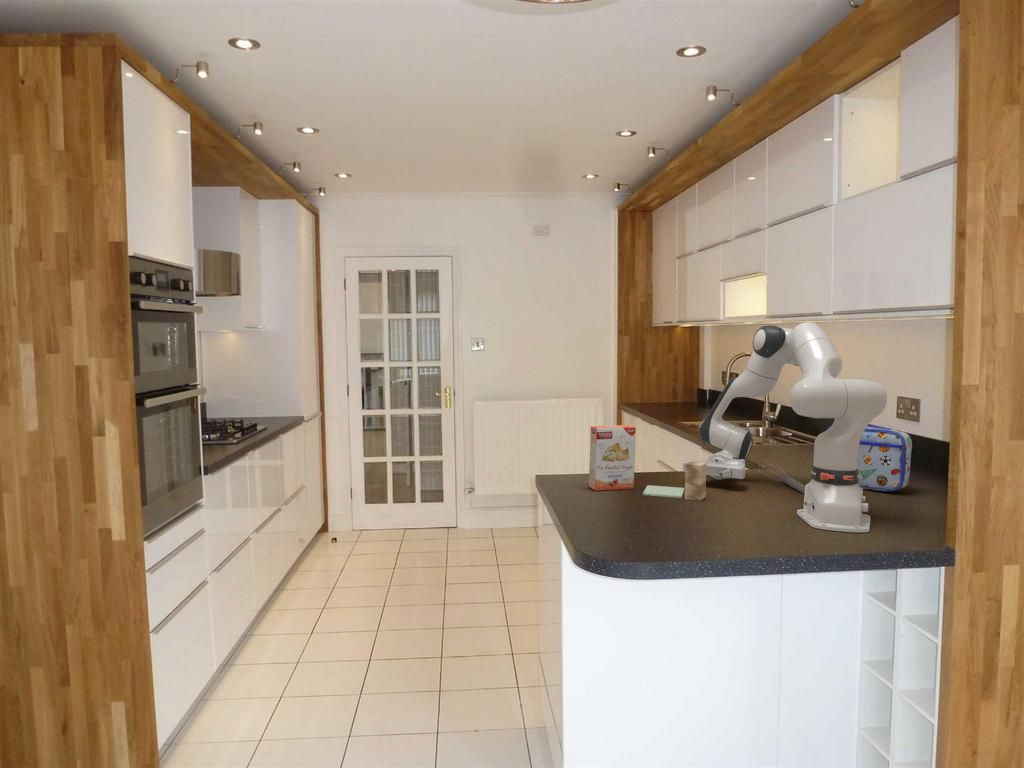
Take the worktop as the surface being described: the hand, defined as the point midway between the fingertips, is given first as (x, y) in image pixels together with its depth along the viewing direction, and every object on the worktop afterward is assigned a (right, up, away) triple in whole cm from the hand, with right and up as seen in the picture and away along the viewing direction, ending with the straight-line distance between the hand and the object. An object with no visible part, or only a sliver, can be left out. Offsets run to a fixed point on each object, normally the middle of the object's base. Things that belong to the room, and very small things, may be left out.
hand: (707, 472), depth 222 cm
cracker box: (-31, -6, +3) cm, 31 cm away
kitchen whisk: (+30, -6, +12) cm, 33 cm away
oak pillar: (-7, -7, -10) cm, 13 cm away
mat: (-15, -6, -2) cm, 16 cm away
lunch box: (+55, -6, +8) cm, 55 cm away
